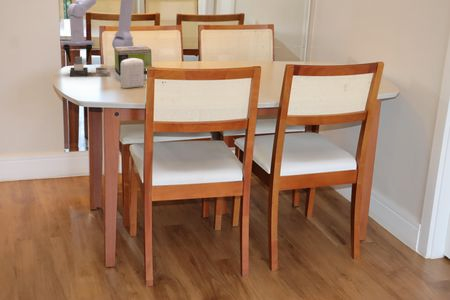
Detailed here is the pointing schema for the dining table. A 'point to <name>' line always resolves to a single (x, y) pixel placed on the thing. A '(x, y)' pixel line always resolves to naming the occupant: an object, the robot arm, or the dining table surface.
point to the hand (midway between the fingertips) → (78, 61)
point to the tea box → (132, 52)
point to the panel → (84, 73)
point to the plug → (78, 64)
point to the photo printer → (132, 73)
